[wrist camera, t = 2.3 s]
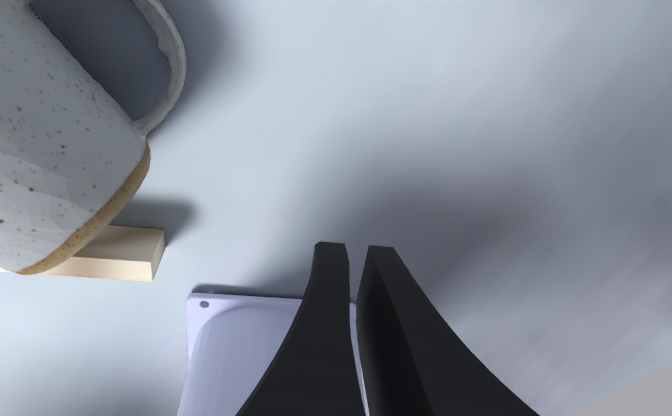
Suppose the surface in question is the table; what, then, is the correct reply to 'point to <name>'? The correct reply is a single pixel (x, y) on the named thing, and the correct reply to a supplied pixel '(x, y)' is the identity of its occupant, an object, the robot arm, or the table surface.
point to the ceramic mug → (67, 140)
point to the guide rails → (116, 255)
